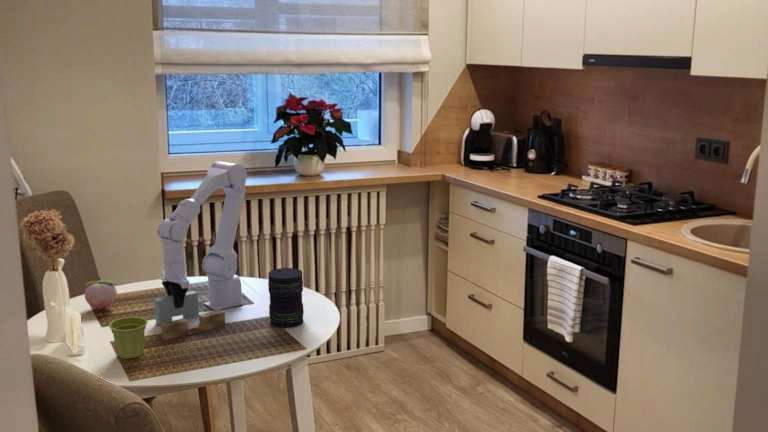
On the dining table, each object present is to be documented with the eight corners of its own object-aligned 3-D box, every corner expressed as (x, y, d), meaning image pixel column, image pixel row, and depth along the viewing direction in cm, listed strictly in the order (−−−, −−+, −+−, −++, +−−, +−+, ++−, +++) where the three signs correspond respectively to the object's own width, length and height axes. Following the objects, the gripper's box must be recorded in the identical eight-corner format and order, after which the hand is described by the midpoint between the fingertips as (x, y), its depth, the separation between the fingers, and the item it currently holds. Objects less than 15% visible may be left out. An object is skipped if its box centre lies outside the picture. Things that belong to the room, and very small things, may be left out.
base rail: (221, 322, 222) (220, 309, 221) (225, 325, 220) (224, 312, 219) (161, 337, 211) (160, 323, 210) (165, 340, 209) (164, 326, 208)
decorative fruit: (118, 303, 238) (116, 272, 236) (118, 311, 230) (115, 280, 228) (86, 306, 235) (83, 275, 233) (84, 315, 227) (82, 283, 225)
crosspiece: (194, 314, 228) (193, 290, 227) (198, 317, 226) (197, 292, 225) (156, 323, 221) (154, 298, 219) (159, 326, 219) (158, 301, 217)
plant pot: (157, 350, 202) (154, 319, 200) (134, 364, 194) (132, 331, 192) (127, 345, 205) (124, 314, 203) (103, 359, 197) (101, 327, 195)
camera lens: (310, 322, 223) (310, 272, 219) (284, 331, 216) (283, 280, 212) (288, 314, 229) (287, 265, 226) (262, 322, 222) (260, 273, 219)
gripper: (150, 257, 223) (153, 302, 226) (171, 269, 212) (174, 315, 215) (173, 253, 227) (176, 297, 230) (195, 264, 216) (197, 310, 219)
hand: (176, 305), depth 223 cm, fingers closed on crosspiece, 3 cm apart
